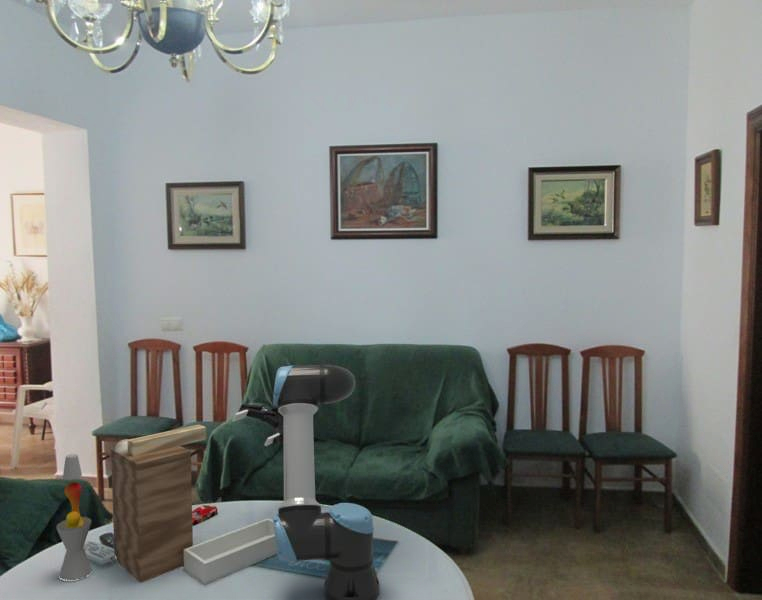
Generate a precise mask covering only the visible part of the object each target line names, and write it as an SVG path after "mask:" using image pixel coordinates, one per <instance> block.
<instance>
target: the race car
mask: <svg viewBox="0 0 762 600" xmlns="http://www.w3.org/2000/svg"><path fill="white" fill-rule="evenodd" d="M216 515H218V508H217V506H216V505H213V504H205V505H201V506H198V507H196V508H195V509H194V510H193V509H192V526H194V527H195V526H197V525H198V524H199V523H202V522H204V521H206V520H209V519H211V518H213V517H215V516H216Z"/></svg>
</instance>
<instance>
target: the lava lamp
mask: <svg viewBox="0 0 762 600" xmlns="http://www.w3.org/2000/svg"><path fill="white" fill-rule="evenodd" d="M64 459H65V460H64V467H63V472H62V473H63V475H62V479H64V480H73V479H74V480H75V479H79V478H80V477H81V478H82V475H83V473H82V470H81V469H82V468H81V464H80V459H79V455H78V454H76V453H70V454H67V455H66V456H65V458H64ZM64 494H65V496H66V497H67V499H68V500H69V502H70V505H71V511H70V512H69V513H68V514H67V515H66V517H65V518H66V519H64V520H62V521H59V523H57V525H56V526H55V527H56V530H57V533H58V535H59V537H60V539H61V542H62V543H63V545H64V547H65V548H64V549H65V550H66V552H65V554H64V558H63V562H62V565H61V569H60V572H59V575H60V578H62V579H65V580H66V579H67V580H76V579H81V578H83V577H86V576H87V575H89V574H90V573H91V571H92V572H93V568H92V565H91V563H90V560H89V558H88V555H87V553H86V551H85V548H84V547H85V543H86V539H87V536H88V535H89V531H90V528H91V525H92V519H91V518H90V517H88V516H81V513H80V499H81V494H82V485H81V484H79V482H75V481H74V482H69V483H68V484H67V485H66V486H65V488H64ZM91 574H92V573H91ZM91 574H90V575H91ZM90 575H89V576H90ZM86 578H87V577H86ZM81 580H82V579H81Z"/></svg>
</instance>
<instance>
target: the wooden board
mask: <svg viewBox="0 0 762 600" xmlns="http://www.w3.org/2000/svg"><path fill="white" fill-rule="evenodd" d="M205 440H207V427H206V426H204V425H202V424H194V425H191V426H190V425H189V426H187V427H186V426H185V427H182V428H177V429H171V430H168V431H164V432H158V433H154V434H148V435H144V436H141V437H136V438H135V437H134V438H131V439H128V440H127V444H128V454H130V455H132V456H138V455H142V454H147V453H151V452H155V451H159V450H163V449H168V448H172V447H176V446H185V445H189V444H193V443H197V442H200V441H205Z"/></svg>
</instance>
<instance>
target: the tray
mask: <svg viewBox="0 0 762 600" xmlns="http://www.w3.org/2000/svg"><path fill="white" fill-rule="evenodd" d="M275 554H276V555H278V554H277V547H276V539H275V532H274V523H273V518H270V517H268V518H266V519H263V520H260V521H257V522H255V523H251V524H249V525H245V526H243V527H240V528H238V529H234V530H233V531H230V532H227V533H225V534H222V535H219V536H217V537H214V538H211V539H209V540H205V541H203V542H200V543H197V544H195V545H194V544H193V546H192V547H189V548H186V549H184V566H183V569H184V571H186V572H187V573H188V574H190V575H191V576H193V577H194V578H195V579H197V580H198V581H199V582H200V583H202V584H203V585H208V584H210V583H213V582H214V581H218V580H219V579H223V578H225V577H226V576H228V575H229V576H230V575H231V574H234V573H236V572H238V571H241V570H243V569H246V568H248V567H251V566H253V565H256V564H257V563H259V562H262V561H264V560H267V559H268V557H269V558H272V557H274V556H275ZM273 555H274V556H273ZM266 558H267V559H266Z"/></svg>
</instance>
